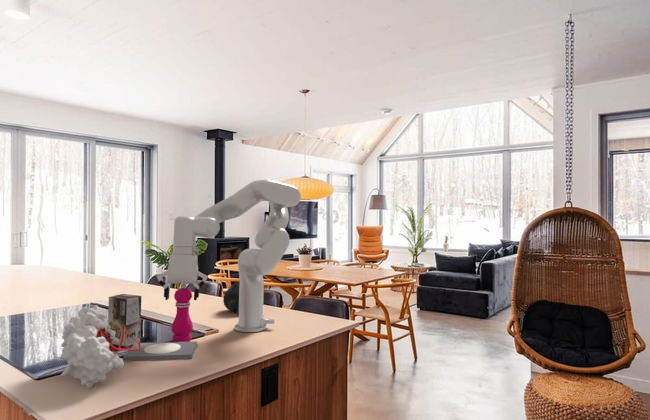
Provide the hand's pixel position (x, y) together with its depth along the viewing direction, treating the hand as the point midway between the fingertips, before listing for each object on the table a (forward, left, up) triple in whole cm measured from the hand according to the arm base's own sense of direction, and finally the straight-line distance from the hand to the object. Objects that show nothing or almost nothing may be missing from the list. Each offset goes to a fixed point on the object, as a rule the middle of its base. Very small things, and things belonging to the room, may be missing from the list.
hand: (181, 299), depth 150 cm
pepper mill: (-1, 0, -15) cm, 15 cm away
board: (+3, +13, -15) cm, 20 cm away
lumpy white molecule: (+18, +31, -15) cm, 38 cm away
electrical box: (+18, +1, -15) cm, 24 cm away
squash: (-20, -45, -15) cm, 52 cm away
